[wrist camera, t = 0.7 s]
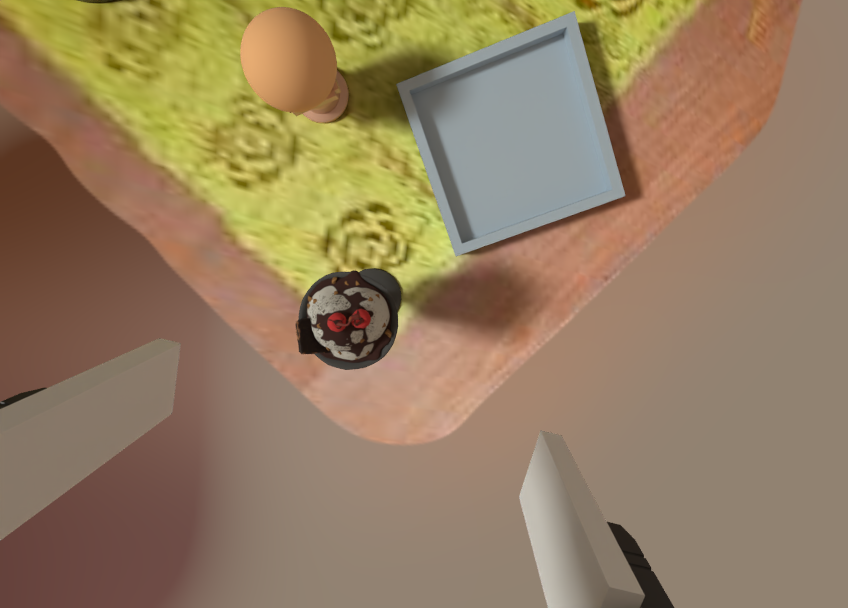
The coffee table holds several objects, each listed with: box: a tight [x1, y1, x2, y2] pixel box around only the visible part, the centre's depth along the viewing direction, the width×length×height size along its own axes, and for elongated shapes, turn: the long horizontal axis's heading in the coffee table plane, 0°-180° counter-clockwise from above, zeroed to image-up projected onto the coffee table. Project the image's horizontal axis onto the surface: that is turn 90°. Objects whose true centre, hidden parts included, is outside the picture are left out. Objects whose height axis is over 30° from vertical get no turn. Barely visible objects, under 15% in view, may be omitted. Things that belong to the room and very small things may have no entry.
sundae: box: [296, 268, 401, 370], centre depth 32 cm, size 7×7×15 cm
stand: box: [290, 71, 349, 123], centre depth 34 cm, size 4×4×5 cm
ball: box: [241, 7, 337, 113], centre depth 29 cm, size 6×6×6 cm
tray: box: [396, 11, 625, 256], centre depth 35 cm, size 14×14×2 cm
